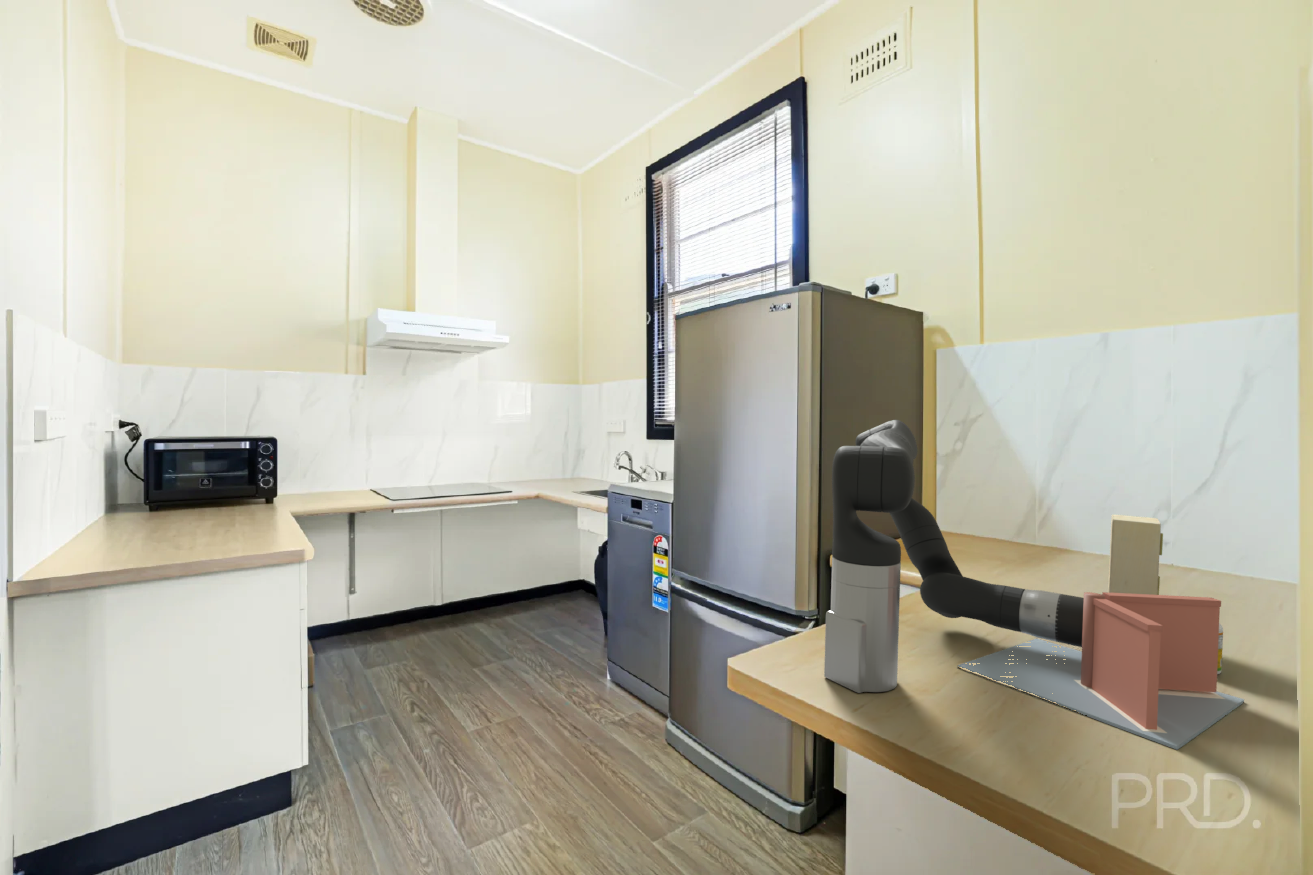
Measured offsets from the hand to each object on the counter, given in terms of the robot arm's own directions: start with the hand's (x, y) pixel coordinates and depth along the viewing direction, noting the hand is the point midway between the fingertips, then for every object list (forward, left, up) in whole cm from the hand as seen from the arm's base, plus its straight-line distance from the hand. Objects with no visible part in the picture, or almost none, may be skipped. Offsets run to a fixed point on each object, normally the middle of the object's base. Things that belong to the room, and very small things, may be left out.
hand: (1205, 646), depth 83 cm
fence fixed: (-16, +4, -6) cm, 18 cm away
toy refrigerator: (+18, +15, -7) cm, 24 cm away
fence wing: (-6, +3, -6) cm, 9 cm away
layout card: (-11, +9, -6) cm, 16 cm away
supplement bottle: (+10, +4, -7) cm, 13 cm away
